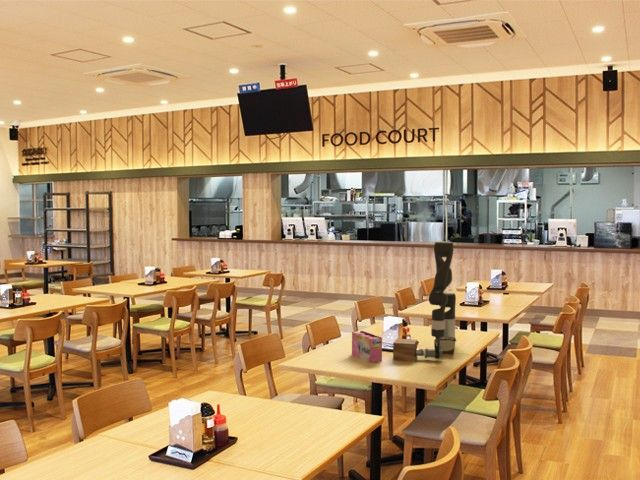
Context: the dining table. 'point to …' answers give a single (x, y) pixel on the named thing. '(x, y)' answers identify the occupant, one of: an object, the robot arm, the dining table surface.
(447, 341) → the food container
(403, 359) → the housing
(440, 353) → the grey capped rod
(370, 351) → the gum box
